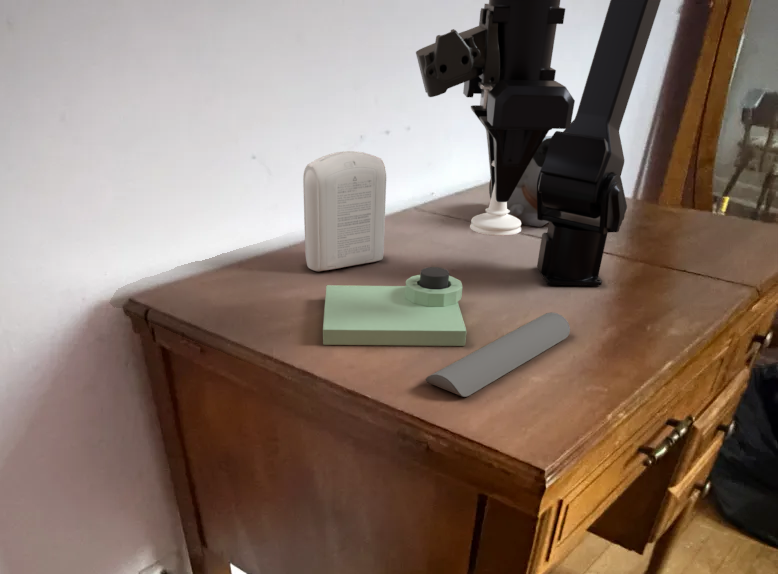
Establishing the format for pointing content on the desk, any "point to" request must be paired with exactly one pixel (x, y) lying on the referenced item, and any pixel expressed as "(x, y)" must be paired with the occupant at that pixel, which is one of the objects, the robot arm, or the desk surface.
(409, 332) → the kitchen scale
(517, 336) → the gray half cylinder
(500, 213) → the chess piece
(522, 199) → the lucky cat figurine
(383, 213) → the white rounded block
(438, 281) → the button
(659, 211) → the desk surface
